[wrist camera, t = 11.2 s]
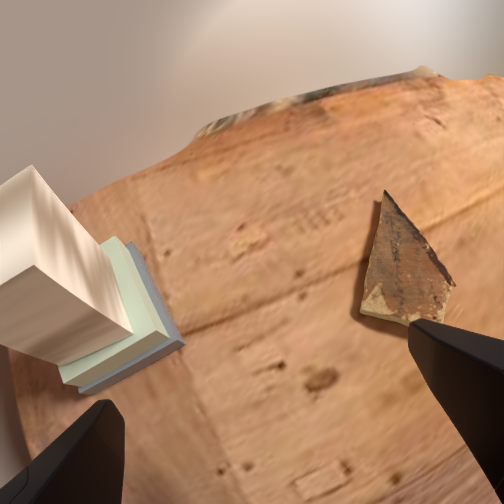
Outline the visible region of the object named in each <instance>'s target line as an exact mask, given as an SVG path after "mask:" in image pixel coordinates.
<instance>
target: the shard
mask: <svg viewBox="0 0 504 504" xmlns="http://www.w3.org/2000/svg"><path fill="white" fill-rule="evenodd" d="M455 287H456V284H455V282H454V281H453V280H452V277H451V276H450V274H449V273H448V271H447V269H446V268H445V266H444V265H443V263H442V262H441V261H439V259H438V257H437V255H436V253H435V252H434V250H433V249H432V248H431V246H430V245H429V243H428V242H427V240H426V239H425V237H424V236H423V235H422V234H421V233H420V231H419V230H418V229H417V227H416V226H415V225H414V223H413V222H412V221H411V220H410V219H409V218H408V217H407V216H406V215H405V214H404V213H403V212H402V210H401V209H400V208H399V207H398V205H397V204H396V203H395V202H394V200H393V198H392V197H391V196H390V195H389V194H388V193H387V191H386V190H384V193H383V196H382V204H381V214H380V220H379V225H378V229H377V231H376V234H375V238H374V242H373V248H372V251H371V254H370V259H369V266H368V269H367V273H366V276H365V282H364V295H363V299H362V301H361V307H360V313H361V314H364V315H369V316H373V317H377V318H381V319H385V320H389V321H394V322H398V323H400V324H403V325H405V326H407V327H409V323H410V322H412V321H414V320H417V319H419V318H424V319H427V320H431V321H435V322H438V323H442V324H443V319H444V313H445V308H446V304H447V301H448V298H449V296H450V293H451V291H452V289H453V288H455Z"/></svg>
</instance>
